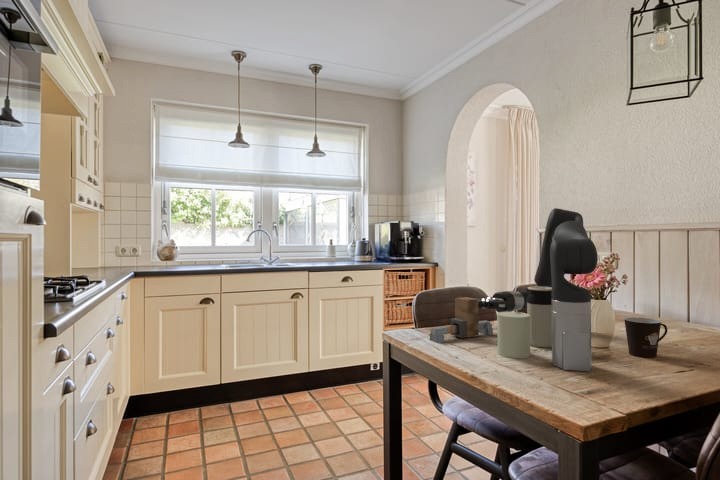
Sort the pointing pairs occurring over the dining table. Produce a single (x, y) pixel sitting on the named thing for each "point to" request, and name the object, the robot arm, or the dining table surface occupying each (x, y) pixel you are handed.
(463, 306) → the wooden rectangular block
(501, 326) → the can
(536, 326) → the travel mug
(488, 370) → the dining table surface
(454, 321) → the dark grey block
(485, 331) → the grey angular blocks
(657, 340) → the coffee mug
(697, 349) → the dining table surface
